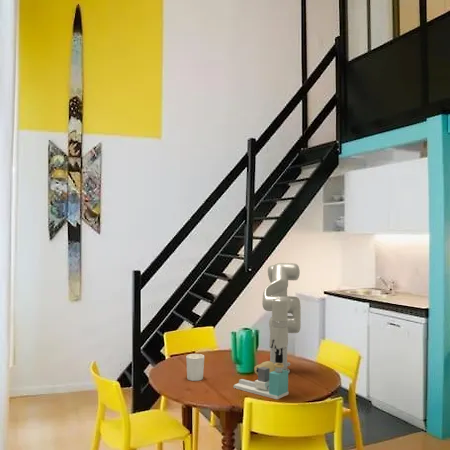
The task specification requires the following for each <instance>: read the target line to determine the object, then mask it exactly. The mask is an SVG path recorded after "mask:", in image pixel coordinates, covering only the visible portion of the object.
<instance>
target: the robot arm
mask: <svg viewBox="0 0 450 450" xmlns="http://www.w3.org/2000/svg"><path fill="white" fill-rule="evenodd" d="M267 277H268V280H269V283H268V285H267V286H266V287H265V288H264V290H263V293H262V308H263V310H265V312H266V311H267V312H271V317H270V318H269V320H268V326H269V333H270V334H269V344H268V345H269V349H270V350H269V351H270V352H269V353H270V355H269V358H270V359H269V361H271V362H273V363H274V364H275V363H283V364H284V367H283V368H282V370H287V371H288V375H289V374H290V373H291V372H290V371H291V370H290V369H289V368H288V367H290V366H291V362H289V361H288V344H289V334H298V333H300V331H301V327H302V326H301V325H302V324H301V323H302V322H301V313H302V312H301V311H302V310H301V307H302V306H301V300H300V298H299V297H298V296H291V295H289V296H288V287H289V281H298V279H299V277H300V266H299V265H298V264H297V263H291V262H290V263H289V262H288V263H286V262H279V263H275V264H274V265H273V264H272V265H269V266H268V267H267ZM288 314H290V315H288Z"/></svg>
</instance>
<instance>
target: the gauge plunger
mask: <svg viewBox="0 0 450 450" xmlns="http://www.w3.org/2000/svg"><path fill="white" fill-rule="evenodd" d="M274 367H276V369H275V372H277V373H282V368H283V367H284V364H283V363H275V364H274Z"/></svg>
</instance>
